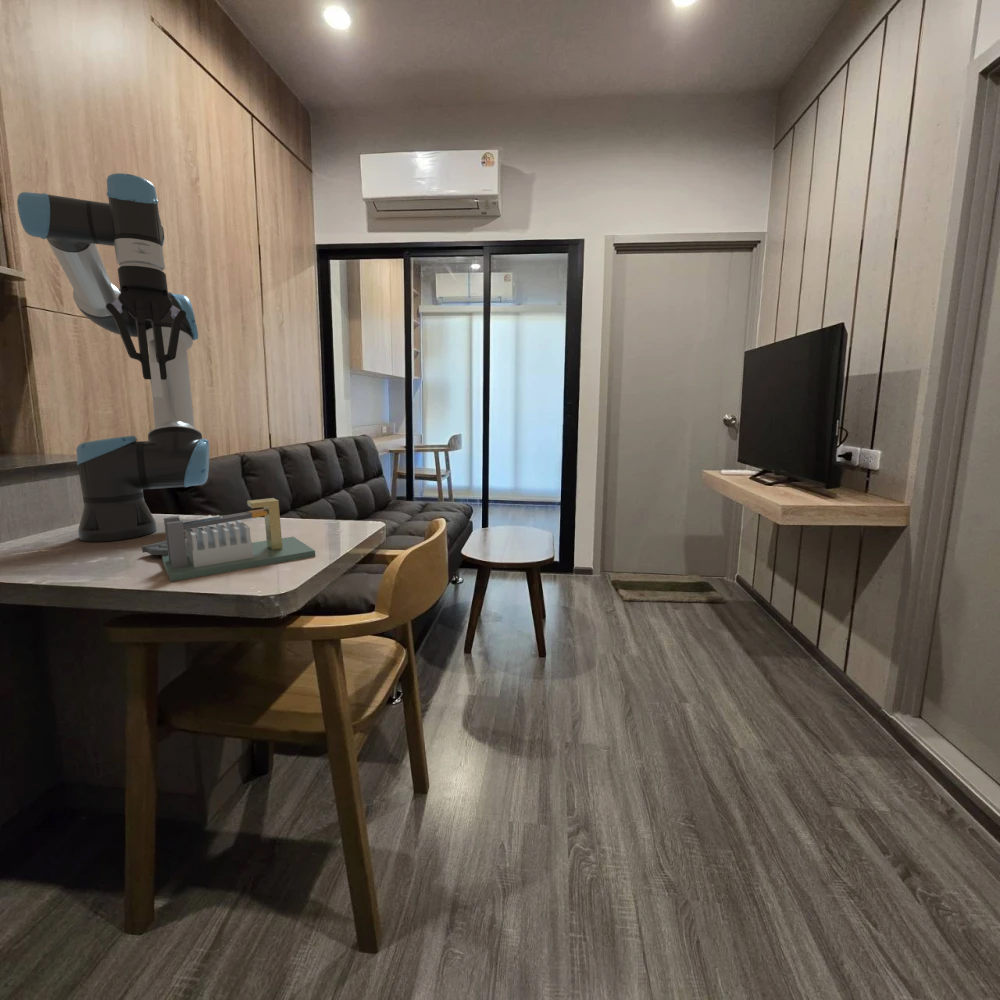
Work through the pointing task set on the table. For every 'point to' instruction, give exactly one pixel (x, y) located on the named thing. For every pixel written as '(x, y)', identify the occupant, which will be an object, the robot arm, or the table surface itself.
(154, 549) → the graphics card
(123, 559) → the table surface
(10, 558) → the table surface
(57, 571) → the table surface
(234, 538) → the board
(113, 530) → the robot arm
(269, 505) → the block
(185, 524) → the strap
